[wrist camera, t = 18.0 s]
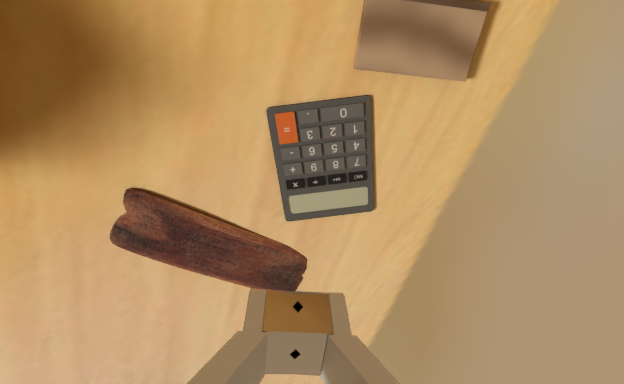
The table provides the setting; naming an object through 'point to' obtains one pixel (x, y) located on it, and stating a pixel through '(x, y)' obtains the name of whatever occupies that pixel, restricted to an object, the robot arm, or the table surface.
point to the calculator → (323, 157)
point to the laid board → (420, 37)
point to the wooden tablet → (204, 244)
